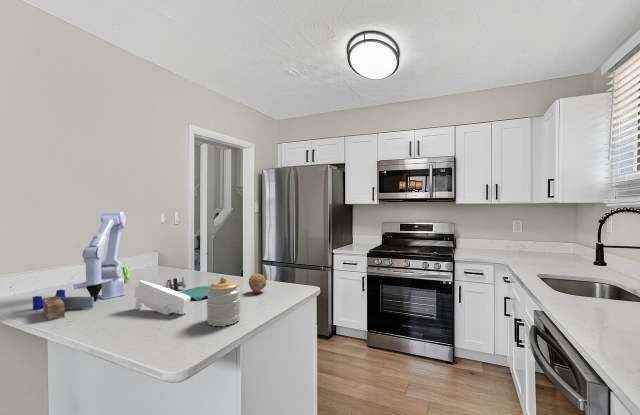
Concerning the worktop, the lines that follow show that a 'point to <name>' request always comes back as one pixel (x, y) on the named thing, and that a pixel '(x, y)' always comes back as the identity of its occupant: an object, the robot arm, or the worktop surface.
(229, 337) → the worktop surface
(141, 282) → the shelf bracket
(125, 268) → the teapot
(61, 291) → the cable clip
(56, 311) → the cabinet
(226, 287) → the jar
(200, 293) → the teal cloth
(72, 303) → the door
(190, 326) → the worktop surface
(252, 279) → the natural sponge
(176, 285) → the bike brake
